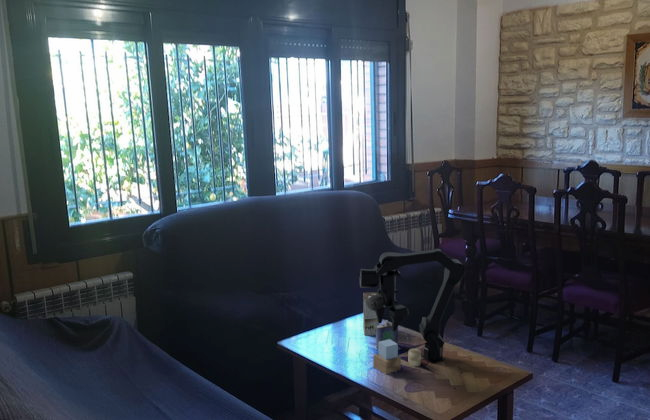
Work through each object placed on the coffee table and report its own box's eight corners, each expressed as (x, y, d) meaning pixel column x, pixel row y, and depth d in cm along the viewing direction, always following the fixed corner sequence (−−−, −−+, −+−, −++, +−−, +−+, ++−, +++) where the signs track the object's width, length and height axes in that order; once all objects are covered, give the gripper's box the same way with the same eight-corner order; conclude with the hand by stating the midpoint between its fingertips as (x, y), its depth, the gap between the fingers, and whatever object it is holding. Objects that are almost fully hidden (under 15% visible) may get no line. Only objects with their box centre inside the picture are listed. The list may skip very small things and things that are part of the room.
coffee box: (379, 335, 230) (379, 298, 227) (364, 335, 230) (364, 298, 227) (377, 327, 239) (378, 291, 236) (363, 327, 239) (363, 291, 236)
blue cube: (378, 354, 200) (378, 341, 200) (389, 351, 203) (389, 339, 202) (386, 359, 196) (386, 346, 195) (397, 357, 198) (397, 344, 197)
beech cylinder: (415, 360, 207) (415, 347, 206) (423, 364, 203) (423, 352, 202) (405, 362, 205) (406, 350, 204) (413, 367, 201) (413, 354, 200)
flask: (377, 349, 216) (377, 323, 215) (374, 346, 219) (374, 320, 217) (398, 346, 219) (399, 320, 218) (395, 343, 222) (395, 318, 220)
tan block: (387, 362, 205) (388, 350, 204) (400, 369, 199) (400, 356, 198) (373, 367, 201) (373, 354, 200) (385, 374, 195) (386, 361, 195)
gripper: (355, 283, 207) (355, 322, 209) (383, 297, 191) (383, 339, 193) (380, 279, 212) (379, 317, 215) (409, 292, 196) (408, 333, 198)
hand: (387, 326), depth 205 cm, fingers open, 9 cm apart
